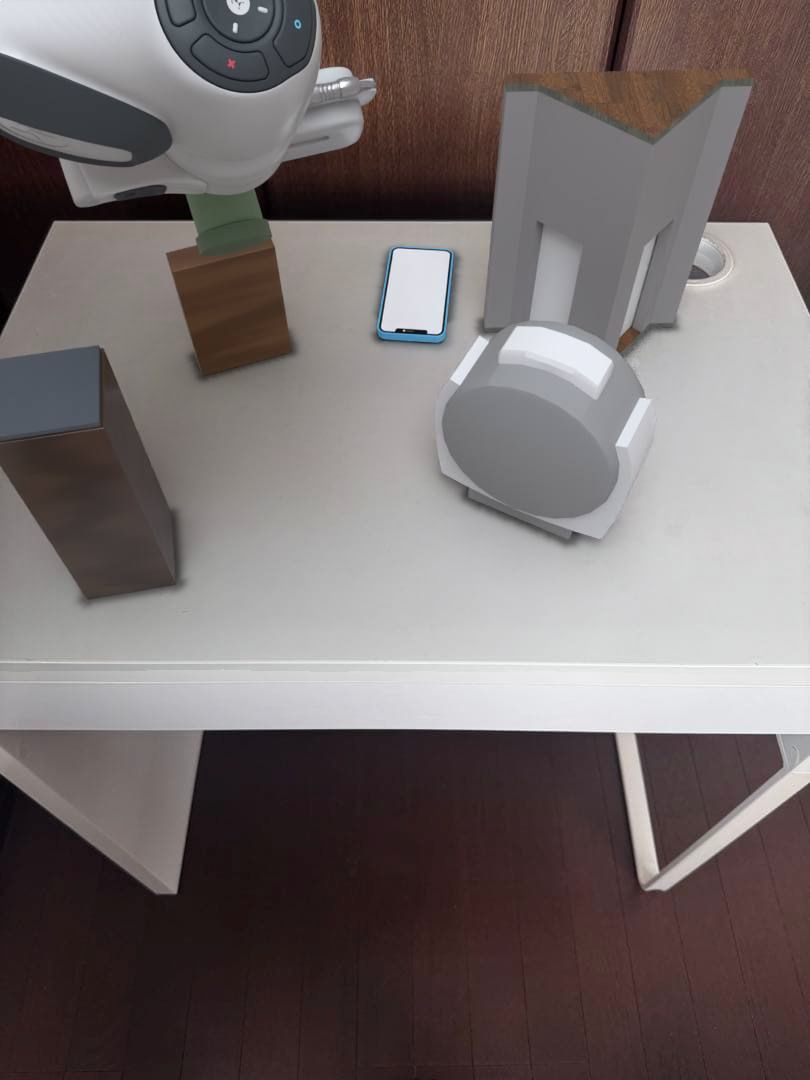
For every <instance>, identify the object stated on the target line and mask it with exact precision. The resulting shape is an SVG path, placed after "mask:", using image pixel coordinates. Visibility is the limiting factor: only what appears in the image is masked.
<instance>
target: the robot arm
mask: <svg viewBox="0 0 810 1080" xmlns="http://www.w3.org/2000/svg"><path fill="white" fill-rule="evenodd" d="M322 52H323V33H322V23H321V16H320V10H319V6H318V2H317V0H0V136H2V137H4V138H6V139H7V140H10V141H12V142H14V143H16V144H18V145H21V146H22V147H25V148H27V149H30V150H33V151H34V152H39V153H41V154H43V155H47V156H52V157H55V158H58V160H59V163H60V166H61V169H62V172H63V175H64V178H65V181H66V184H67V187H68V190H69V192H70V196H71V199H72V202H73V203H74V204H75V206H76V207H78V208H89V207H90V208H91V207H95V206H98V205H102V204H105V203H111V202H115V201H118V202H119V201H120V202H121V201H125V200H126V201H127V200H133V199H138V198H145V197H154V196H161V195H165V194H167V195H168V194H176V195H177V194H182V195H186V194H203V193H205V192H206V193H210V194H215V195H234V194H240V193H244V192H247V191H249V190H252V189H255V188H258V187H260V186H261V185H262V184H264V183H265V182H266V181H268V180H269V179H270V178H271V177H272V176H273V175H274V174H275V173H276V172H277V170H278V169H279V167H280V166H281V164H282V163H284V162H288V161H293V160H296V159H301V158H306V157H310V156H314V155H319V154H324V153H328V152H331V151H336V150H341V149H344V148H347V147H349V146H351V145H353V144H355V143H357V142H358V141H359V139H360V138H361V136H362V134H363V130H364V125H365V119H364V115H363V110H362V107H363V106H366V105H367V104H369V103H370V102H371V101H372V100H373V99H374V97H375V96H376V94H377V92H378V91H377V88H378V84H377V83H376V82H375V80H374V78H372V77H371V78H370V77H369V78H365V79H359V77H357V76H354V75H353V73H352V71H351V70H350V69H349V68H347V67H344V66H332V67H331V66H330V67H324V68H320V67H321V62H322Z"/></svg>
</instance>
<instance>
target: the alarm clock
mask: <svg viewBox="0 0 810 1080" xmlns="http://www.w3.org/2000/svg"><path fill="white" fill-rule="evenodd" d="M434 425H435V426H434V429H435V440H436V449H437V450H436V451H437V455H438V460H439V466H440V470H441V474H443V475H445V476H447V477H449V478H451V479H452V480H453V481H456V482H458V483H460V484H461V485H463V486H464V487H467V488H468V495H467V497H468V499H471V500H473V501H476V502H478V503H481V504H484V505H485V506H487V507H490V508H493V509H494V510H497V511H500V512H501V513H504V514H507V515H509V516H511V517H513V518H516V519H519V520H521V521H523V522H526V523H528V524H531V525H532V526H535V527H537V528H540V529H542V530H544V531H546V532H550V533H551V534H554V535H556V536H559V537H560V538H563V539H566V540H570V539H571V537H572V535H573V533H574V532H576V533H579V534H582V535H585V536H589V537H591V538H595V539H599V540H602V538H603V537H604V536H605V535H606V534H607V532H608V531H609V529H610V528H611V526H612V525H613V524H614V523H615V521H616V519H617V518H618V516H619V513H620V512H621V510H622V508H623V506H624V504H625V502H626V500H627V498H628V496H629V494H630V492H631V491H632V488H633V486H634V484H635V482H636V479H637V478H638V476H639V474H640V472H641V470H642V467H643V466H644V464H645V462H646V460H647V457H648V455H649V452H650V450H651V447H652V446H653V443H654V439H655V434H656V426H657V416H656V411H655V406H654V402H653V398H646V393H645V389H644V387H643V385H642V383H641V382H640V380H639V378H638V376H637V374H636V372H635V370H634V368H633V367H632V366H631V365H630V364H629V363H628V361H627V360H626V359H625V358H624V357H623V356H622V355H620V354H619V353H618V352H617V351H616V350H615V349H613V348H612V347H611V346H609V345H608V344H607V343H605V342H604V341H603V340H601V339H600V338H598V337H597V336H595V335H593V334H590V333H588V332H586V331H584V330H582V329H580V328H578V327H575V326H571V325H567V324H563V323H559V322H555V321H525V322H521V323H517V324H513V325H509V326H507V327H506V328H504V329H502V330H501V331H499V332H495V333H494V334H493V335H492V337H490V339H489V340H487V339H486V338H484V337H483V336H481V335H478V336H477V338H476V339H475V341H473V343H472V344H471V346H470V347H469V348H468V349H467V351H466V353H465V354H464V355H463V357H462V358H461V359H460V361H459V362H458V364H457V365H456V367H455V368H454V370H453V372H452V373H451V375H450V376H449V377H448V379H447V380H446V381H445V383H444V385H443V386H442V387H441V389H440V390H439V391H438V396H437V400H436V403H435V409H434Z"/></svg>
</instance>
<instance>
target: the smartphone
mask: <svg viewBox="0 0 810 1080" xmlns="http://www.w3.org/2000/svg"><path fill="white" fill-rule="evenodd" d="M388 254H389V255H388V260H387V266H386V271H385V279H384V284H383V289H382V297H381V302H380V307H379V312H378V313H379V314H378V320H377V325H376V329H377V331H376V332H377V336H378V337H379V338H380V339H383V340H390V341H404V342H405V341H408V342H420V343H421V342H423V343H440V342H443V341H444V340H445V338H446V334H447V326H448V325H447V324H448V316H449V315H448V314H449V307H450V296H451V286H452V275H453V266H454V252H453V251H452V250H451V249H448V248H438V247H420V246H403V245H397V246H393V247H392V248H391V249H390V250H389V253H388Z"/></svg>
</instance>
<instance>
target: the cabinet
mask: <svg viewBox="0 0 810 1080" xmlns="http://www.w3.org/2000/svg"><path fill="white" fill-rule="evenodd" d="M755 80H756V77H755V75H754V73H753V71H752V68H751V67H741V68H740V67H739V68H738V67H737V68H699V69H697V68H695V69H694V68H693V69H654V70H653V69H652V70H651V69H650V70H617V71H616V70H614V71H613V70H611V71H571V72H570V71H568V72H567V71H566V72H529V73H527V72H526V73H505V74H504V85H503V96H502V107H501V117H500V130H499V140H498V150H497V151H498V152H497V163H496V174H495V185H494V196H493V206H492V207H493V208H492V217H491V227H490V228H491V229H490V241H489V250H488V251H489V252H488V262H487V274H486V286H485V295H484V305H483V306H484V307H483V318H482V326H483V333H498V332H499V331H501V330H502V329H504V328H506V327H507V326H509V325H513V324H517V323H521V322H525V321H555V322H559V323H563V324H567V325H571V326H575V327H578V328H580V329H582V330H584V331H586V332H588V333H590V334H593V335H595V336H597V337H598V338H600V339H601V340H603V341H604V342H605V343H607V344H608V345H609V346H611V347H612V348H613V349H615V350H616V351H617V352H618V353H619V354H620V355H621V356H622V355H624V354H625V352H626V351H628V349H630V347H631V346H632V345H633V344H634V343H635V342H637V340H638V339H640V337H641V336H642V335H643V334H644V333H645V332H646V331H647V330H648V329H655V328H656V329H658V328H659V329H661V328H673V325H674V322H675V321H676V320H675V319H676V317H677V313H678V310H679V307H680V304H681V302H682V299H683V297H684V296H683V295H684V293H685V290H686V287H687V283H688V280H689V278H690V274H691V272H692V268H693V266H694V263H695V259H696V256H697V254H698V251H699V247H700V245H701V241H702V238H703V236H704V233H705V229H706V226H707V224H708V220H709V217H710V214H711V212H712V208H713V206H714V203H715V199H716V198H717V197H716V196H717V193H718V191H719V188H720V185H721V182H722V179H723V176H724V173H725V170H726V167H727V163H728V160H729V158H730V154H731V152H732V149H733V146H734V143H735V140H736V137H737V134H738V130H739V128H740V125H741V122H742V119H743V116H744V113H745V110H746V107H747V103H748V101H749V98H750V95H751V92H752V88H753V86H754V82H755Z"/></svg>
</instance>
